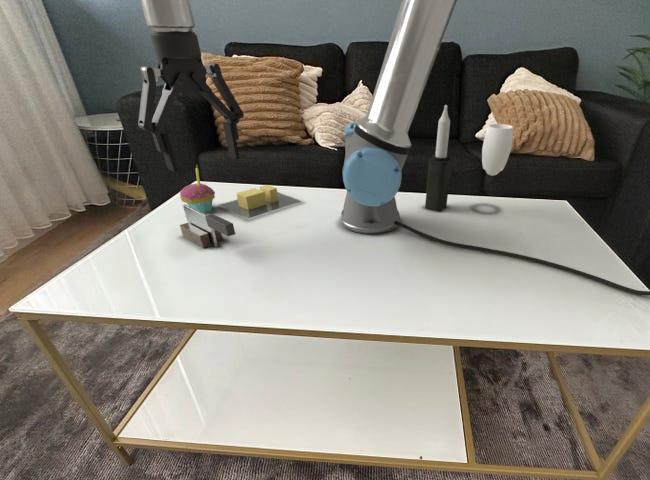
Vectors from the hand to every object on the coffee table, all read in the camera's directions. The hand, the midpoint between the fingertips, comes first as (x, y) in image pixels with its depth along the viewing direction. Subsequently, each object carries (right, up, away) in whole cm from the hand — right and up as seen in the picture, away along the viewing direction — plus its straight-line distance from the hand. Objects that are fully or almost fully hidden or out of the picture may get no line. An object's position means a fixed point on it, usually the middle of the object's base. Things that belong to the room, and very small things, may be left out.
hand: (205, 163), depth 83 cm
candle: (+51, +3, +33) cm, 61 cm away
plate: (+2, +4, +31) cm, 32 cm away
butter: (0, +3, +29) cm, 30 cm away
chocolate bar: (-6, -11, +14) cm, 19 cm away
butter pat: (+4, +6, +33) cm, 34 cm away
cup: (+66, +3, +32) cm, 73 cm away
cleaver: (-3, -14, +11) cm, 18 cm away
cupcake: (-13, 0, +27) cm, 30 cm away
